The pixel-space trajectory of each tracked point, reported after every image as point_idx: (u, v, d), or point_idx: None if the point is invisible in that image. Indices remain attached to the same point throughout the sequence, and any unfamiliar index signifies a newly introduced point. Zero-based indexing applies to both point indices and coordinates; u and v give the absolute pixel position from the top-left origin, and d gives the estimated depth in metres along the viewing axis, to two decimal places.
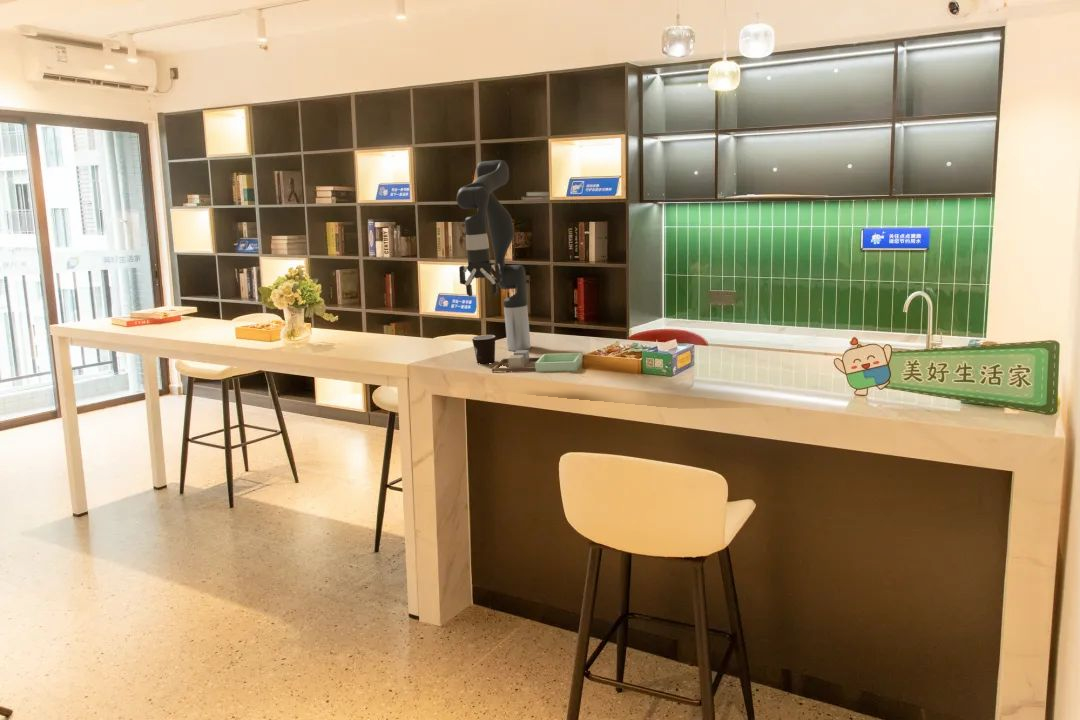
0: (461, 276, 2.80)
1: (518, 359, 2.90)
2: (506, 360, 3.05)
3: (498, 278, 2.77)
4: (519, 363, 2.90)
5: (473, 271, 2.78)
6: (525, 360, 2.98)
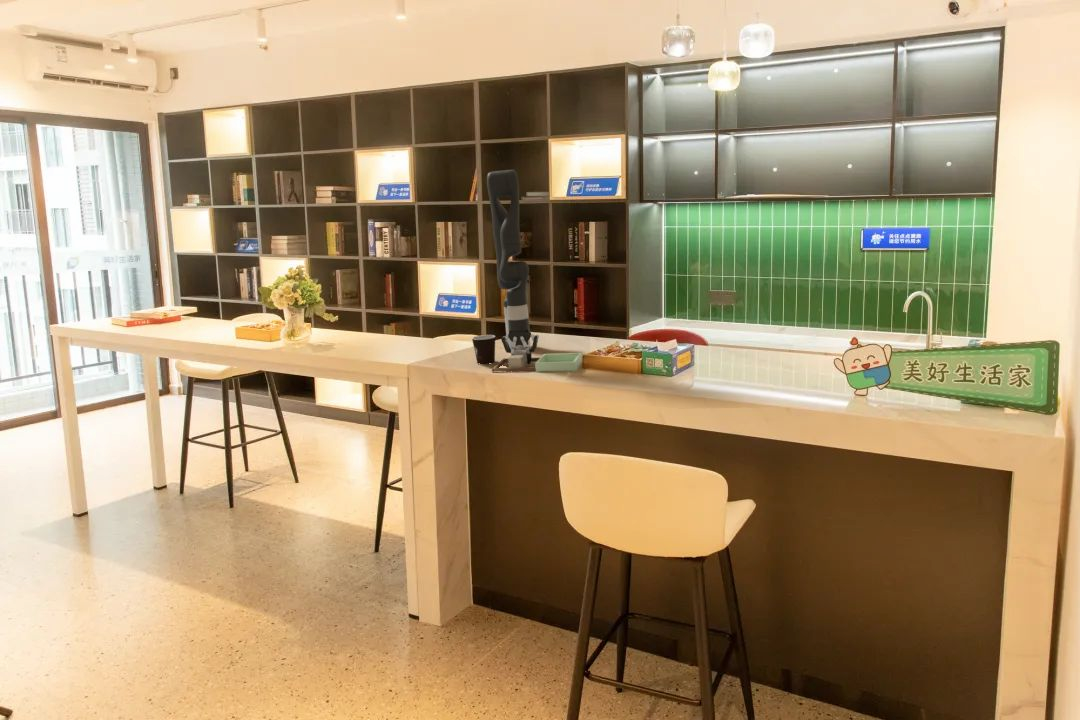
0: (505, 346, 2.99)
1: (518, 359, 2.90)
2: (506, 360, 3.05)
3: (532, 348, 2.97)
4: (519, 363, 2.90)
5: (514, 339, 2.97)
6: (525, 360, 2.98)
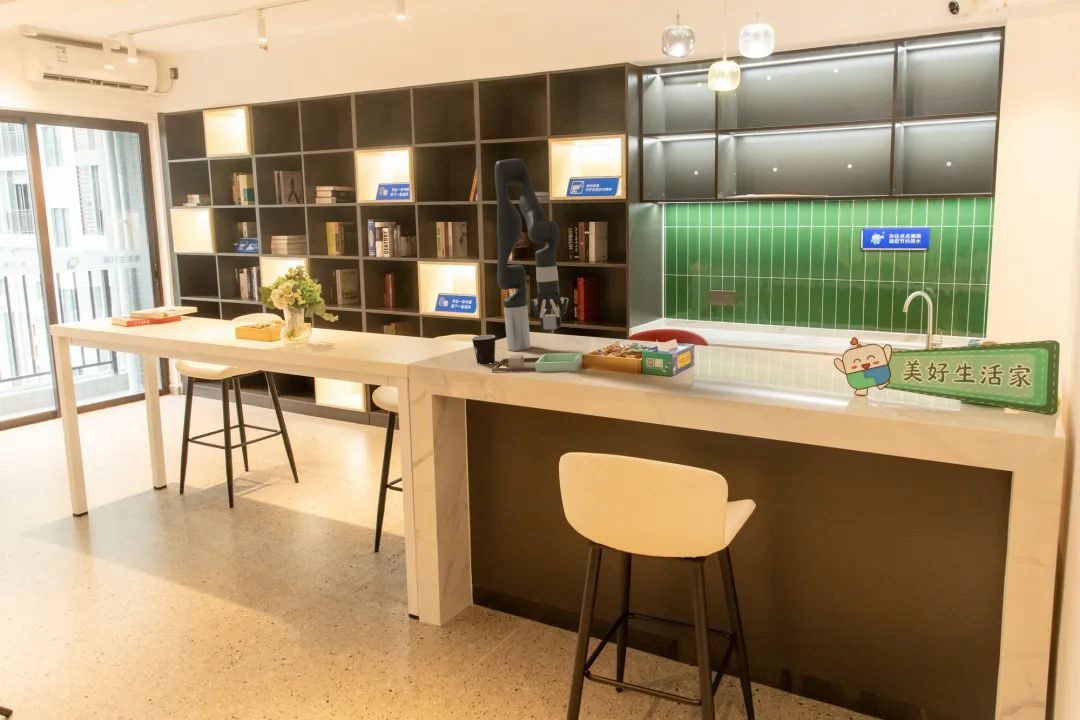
0: (534, 309, 2.90)
1: (518, 359, 2.90)
2: (506, 360, 3.05)
3: (562, 311, 2.88)
4: (519, 363, 2.90)
5: (543, 302, 2.88)
6: (554, 324, 2.88)
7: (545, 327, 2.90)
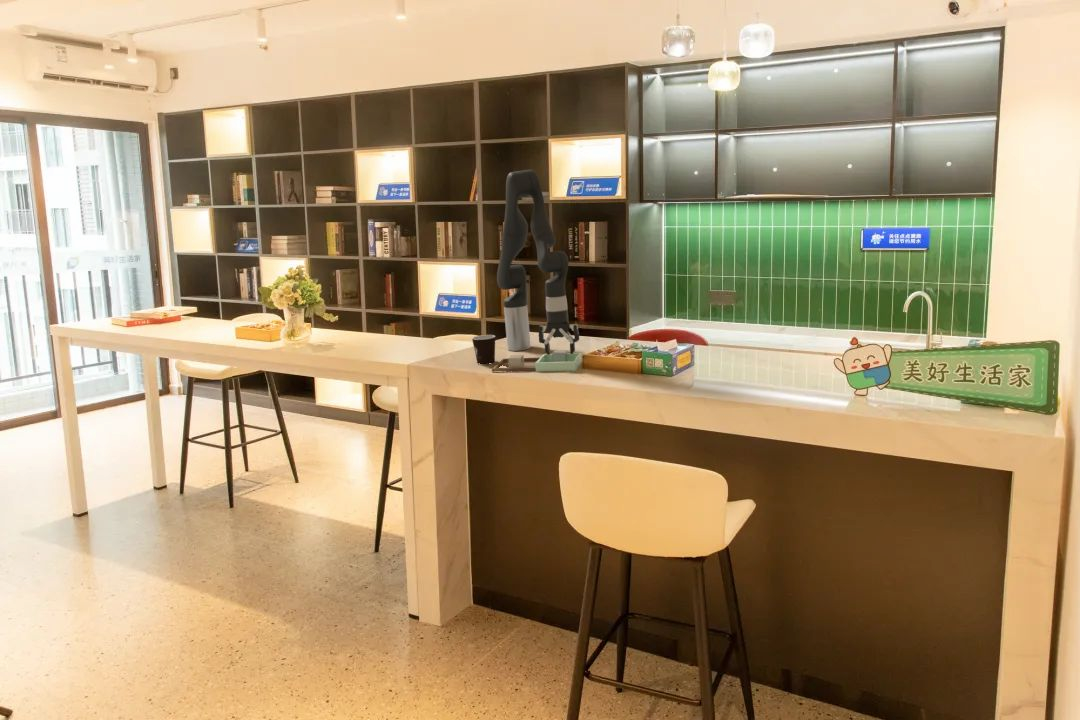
0: (540, 335, 2.92)
1: (518, 359, 2.90)
2: (506, 360, 3.05)
3: (576, 338, 2.90)
4: (519, 363, 2.90)
5: (552, 331, 2.90)
6: (564, 360, 2.91)
7: None
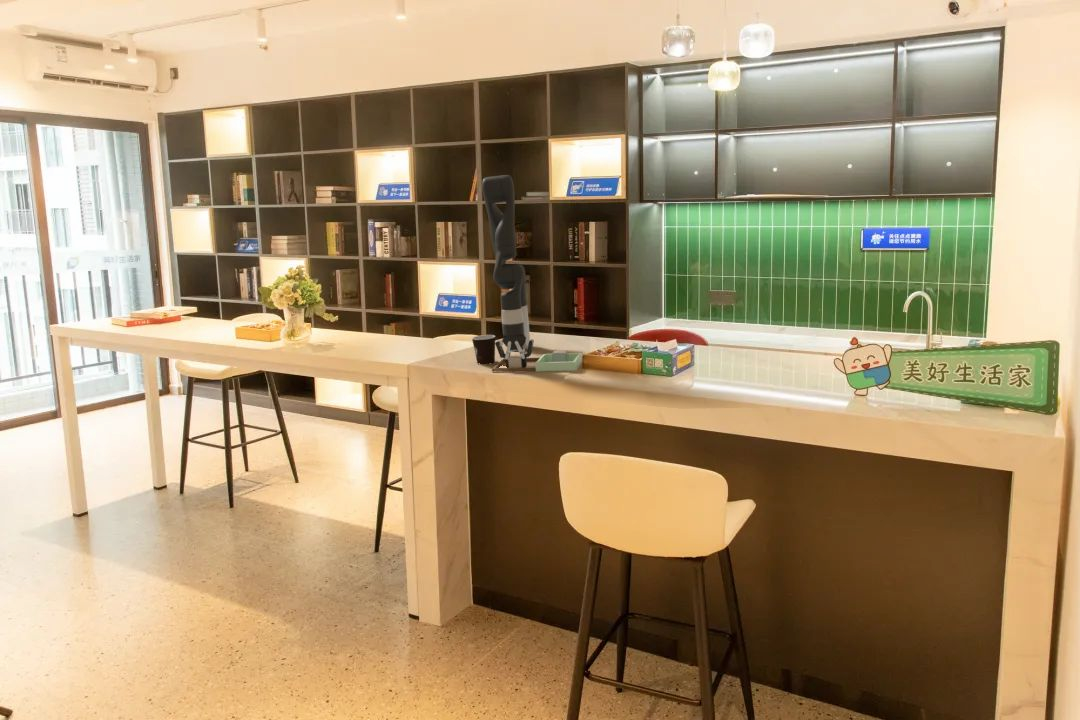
0: (499, 351, 2.92)
1: (518, 359, 2.90)
2: None
3: (527, 353, 2.90)
4: (519, 363, 2.90)
5: (508, 344, 2.90)
6: (564, 360, 2.91)
7: None
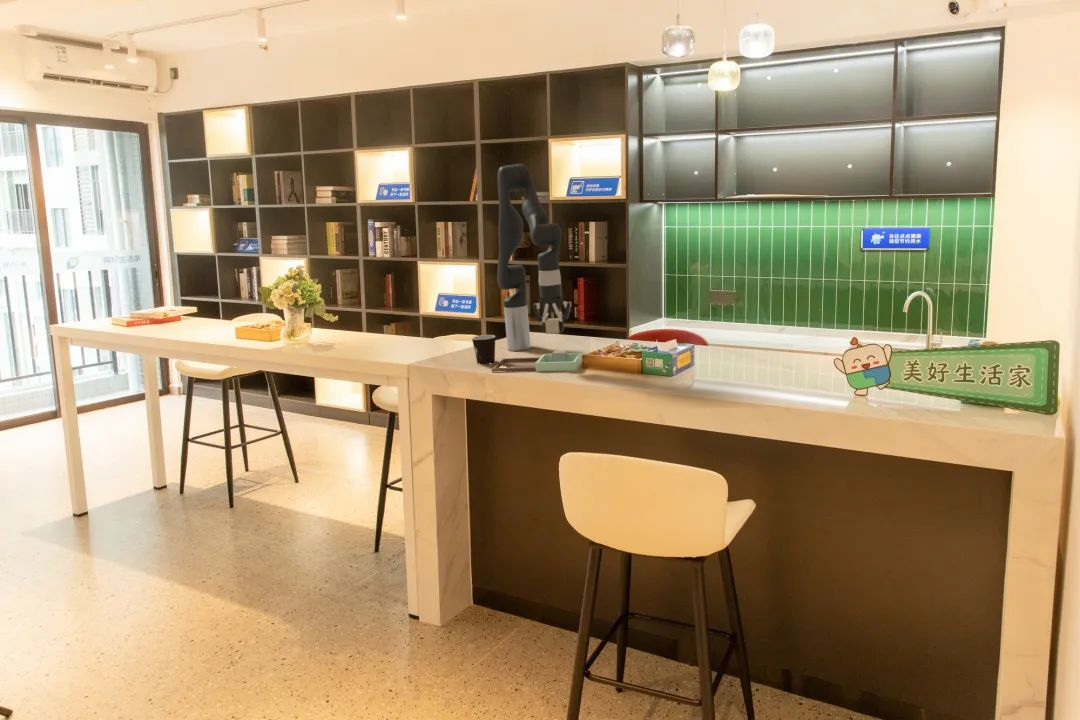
0: (536, 313, 2.84)
1: (555, 322, 2.82)
2: (506, 360, 3.05)
3: (565, 316, 2.82)
4: (556, 326, 2.83)
5: (546, 306, 2.82)
6: (564, 360, 2.91)
7: None
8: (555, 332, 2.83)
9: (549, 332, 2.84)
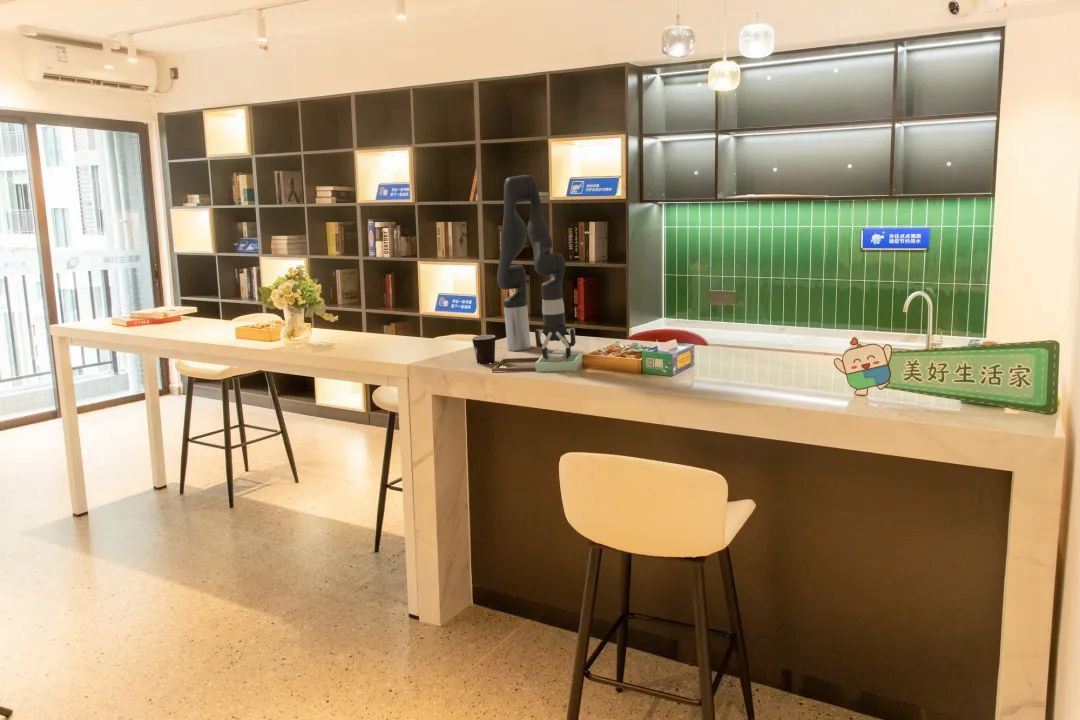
0: (537, 340, 2.87)
1: (560, 358, 2.85)
2: (506, 360, 3.05)
3: (572, 342, 2.84)
4: None
5: (549, 334, 2.85)
6: None
7: None
8: None
9: None
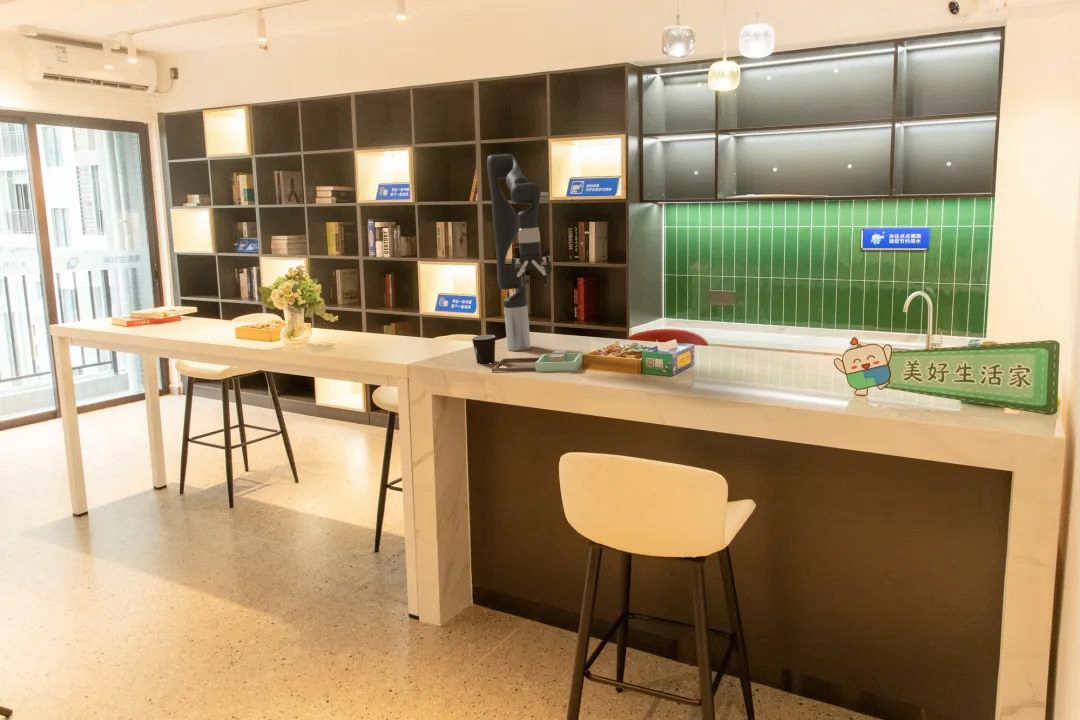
0: (513, 268, 2.94)
1: (560, 358, 2.85)
2: (506, 360, 3.05)
3: (549, 270, 2.91)
4: None
5: (525, 263, 2.92)
6: None
7: None
8: None
9: None
